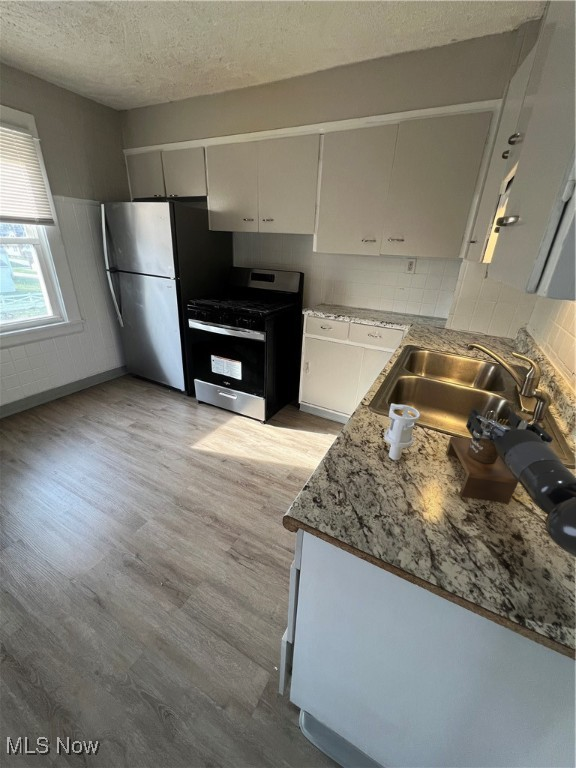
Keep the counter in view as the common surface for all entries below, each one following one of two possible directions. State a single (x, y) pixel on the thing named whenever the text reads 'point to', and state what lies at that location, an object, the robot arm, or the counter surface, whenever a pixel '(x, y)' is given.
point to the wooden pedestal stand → (482, 475)
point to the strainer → (400, 430)
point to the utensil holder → (484, 447)
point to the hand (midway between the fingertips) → (491, 413)
